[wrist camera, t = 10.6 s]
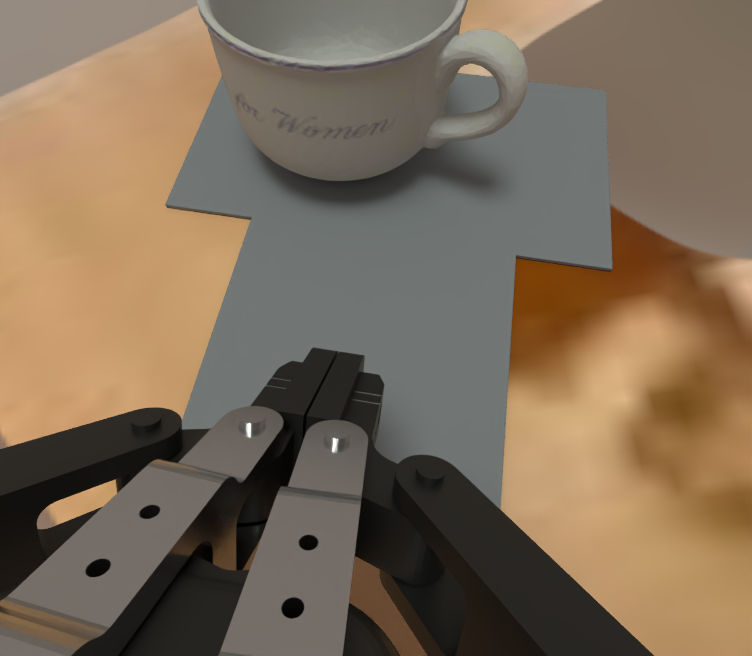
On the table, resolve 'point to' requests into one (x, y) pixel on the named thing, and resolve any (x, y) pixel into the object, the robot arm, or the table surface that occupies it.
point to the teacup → (355, 79)
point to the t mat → (402, 264)
